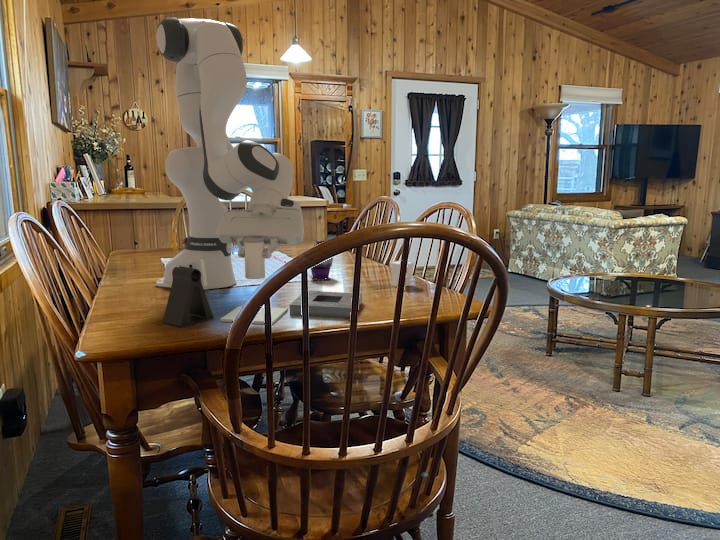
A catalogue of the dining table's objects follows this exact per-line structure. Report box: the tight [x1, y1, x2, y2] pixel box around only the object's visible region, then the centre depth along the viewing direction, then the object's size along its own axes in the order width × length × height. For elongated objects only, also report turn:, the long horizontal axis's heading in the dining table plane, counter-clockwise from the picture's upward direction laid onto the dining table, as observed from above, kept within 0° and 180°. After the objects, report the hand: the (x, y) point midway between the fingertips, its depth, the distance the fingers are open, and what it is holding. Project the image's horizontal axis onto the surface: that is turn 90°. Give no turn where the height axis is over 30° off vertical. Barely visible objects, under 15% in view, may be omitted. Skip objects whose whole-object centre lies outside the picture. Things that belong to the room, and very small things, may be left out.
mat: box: [219, 305, 289, 326], centre depth 122 cm, size 12×12×1 cm
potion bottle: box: [310, 239, 334, 280], centre depth 166 cm, size 9×9×12 cm
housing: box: [289, 290, 363, 319], centre depth 130 cm, size 15×15×2 cm
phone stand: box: [162, 266, 214, 329], centre depth 116 cm, size 9×6×12 cm, turn 147°
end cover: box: [243, 237, 266, 280], centre depth 119 cm, size 4×4×9 cm
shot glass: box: [390, 260, 415, 288], centre depth 158 cm, size 7×7×7 cm
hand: (253, 256), depth 119 cm, fingers closed on end cover, 4 cm apart
